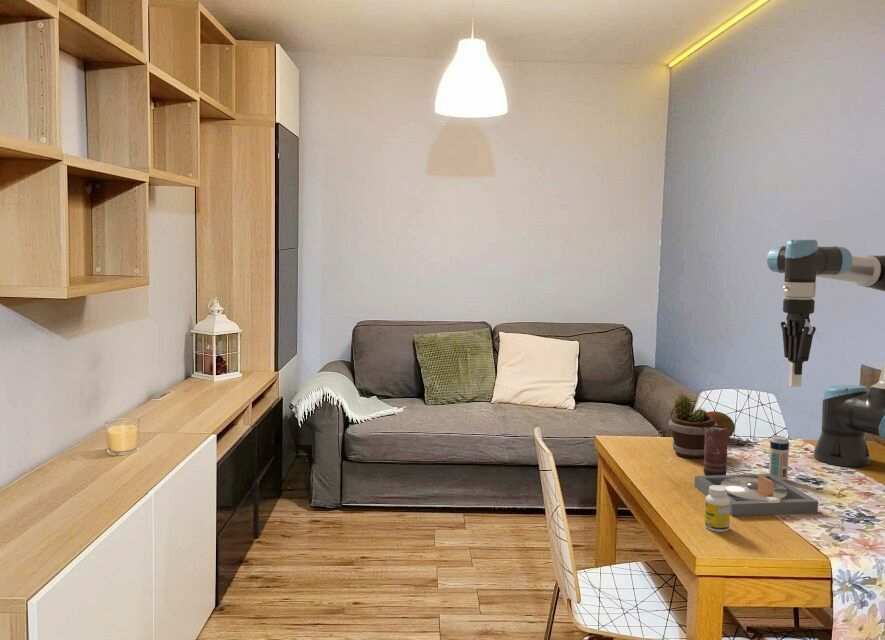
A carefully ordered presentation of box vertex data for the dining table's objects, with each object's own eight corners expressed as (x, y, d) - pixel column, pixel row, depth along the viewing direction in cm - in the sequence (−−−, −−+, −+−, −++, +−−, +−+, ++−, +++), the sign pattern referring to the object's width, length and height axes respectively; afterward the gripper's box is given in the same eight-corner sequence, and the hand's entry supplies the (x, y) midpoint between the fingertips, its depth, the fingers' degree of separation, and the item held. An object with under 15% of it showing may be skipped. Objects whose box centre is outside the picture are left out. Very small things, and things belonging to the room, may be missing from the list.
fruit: (691, 440, 251) (692, 411, 250) (705, 433, 261) (706, 405, 260) (726, 446, 244) (727, 416, 243) (739, 438, 253) (740, 410, 252)
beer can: (787, 477, 212) (789, 436, 210) (787, 482, 207) (789, 440, 206) (768, 475, 214) (770, 434, 212) (768, 480, 209) (770, 438, 208)
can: (728, 479, 211) (730, 430, 209) (705, 477, 212) (706, 429, 210) (725, 472, 217) (727, 425, 215) (702, 471, 218) (703, 424, 216)
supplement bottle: (700, 524, 178) (702, 484, 177) (722, 523, 178) (724, 483, 177) (710, 533, 172) (712, 491, 171) (733, 532, 173) (735, 491, 172)
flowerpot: (721, 451, 238) (723, 390, 236) (710, 464, 225) (712, 399, 223) (675, 445, 246) (677, 385, 243) (661, 456, 233) (663, 393, 231)
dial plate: (771, 484, 206) (772, 470, 206) (817, 513, 184) (818, 498, 184) (694, 486, 205) (694, 473, 204) (731, 516, 183) (732, 501, 182)
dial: (709, 485, 201) (710, 464, 201) (764, 483, 203) (765, 461, 203) (740, 506, 185) (741, 483, 185) (800, 503, 188) (801, 480, 187)
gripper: (772, 296, 203) (768, 381, 206) (799, 300, 190) (794, 391, 193) (798, 296, 204) (794, 381, 206) (827, 299, 191) (822, 390, 193)
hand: (794, 385), depth 200 cm, fingers closed
